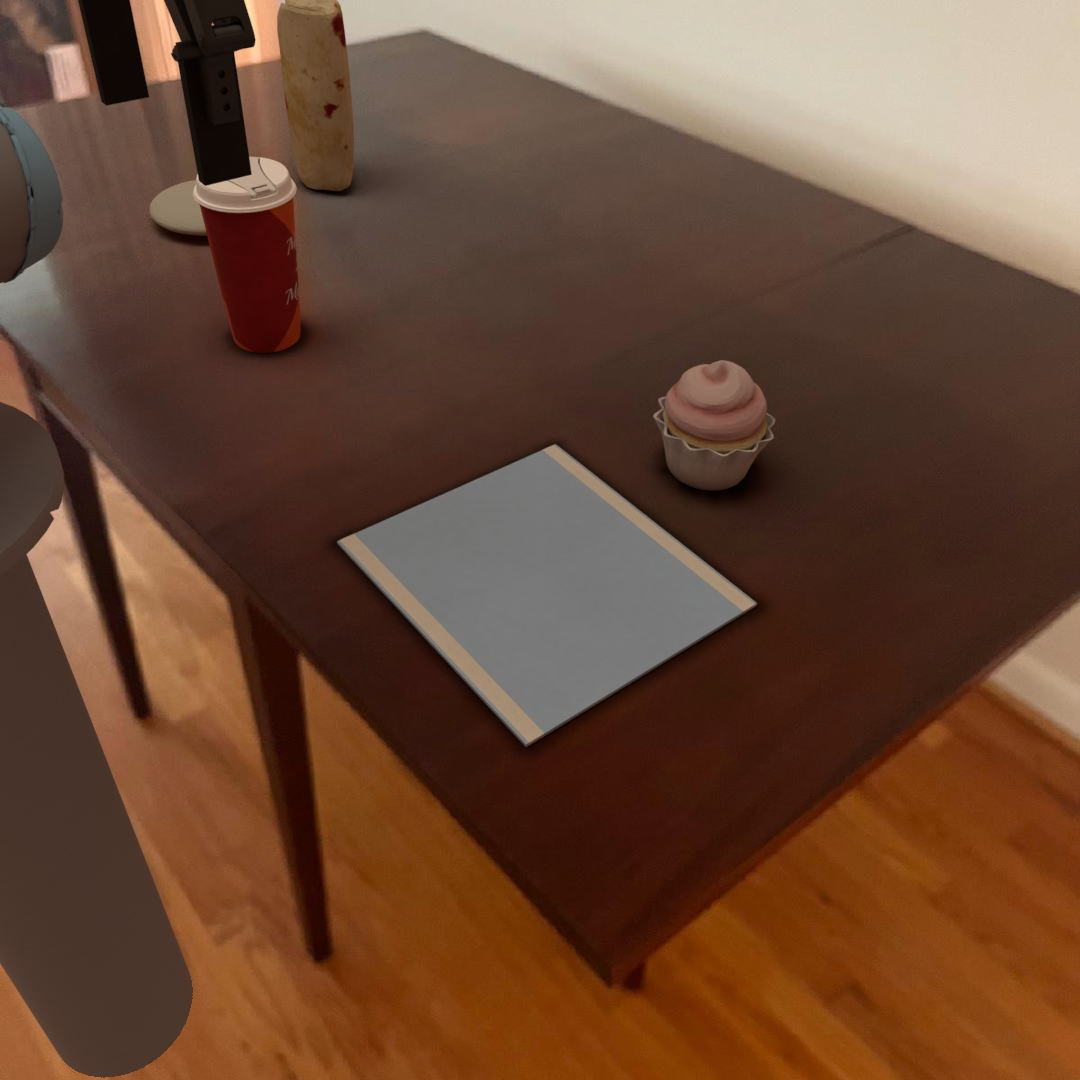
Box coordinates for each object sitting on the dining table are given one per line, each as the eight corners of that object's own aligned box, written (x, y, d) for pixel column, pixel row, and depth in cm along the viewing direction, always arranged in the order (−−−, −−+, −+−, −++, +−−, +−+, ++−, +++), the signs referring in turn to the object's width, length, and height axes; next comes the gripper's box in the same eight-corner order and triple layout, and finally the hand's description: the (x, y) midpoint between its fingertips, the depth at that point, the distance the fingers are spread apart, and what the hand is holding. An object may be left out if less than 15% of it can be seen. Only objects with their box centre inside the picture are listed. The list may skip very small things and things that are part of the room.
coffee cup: (330, 341, 94) (313, 179, 84) (246, 370, 90) (218, 204, 80) (284, 302, 99) (263, 145, 89) (203, 328, 95) (171, 166, 85)
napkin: (337, 544, 75) (336, 540, 74) (555, 446, 84) (555, 443, 84) (526, 747, 62) (526, 744, 62) (756, 606, 72) (757, 602, 72)
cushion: (136, 242, 107) (129, 214, 105) (172, 192, 116) (167, 165, 114) (253, 249, 107) (249, 221, 105) (281, 198, 116) (277, 172, 114)
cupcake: (623, 452, 84) (636, 344, 77) (715, 421, 88) (735, 315, 81) (693, 520, 78) (713, 410, 72) (788, 483, 82) (816, 375, 75)
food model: (372, 191, 118) (359, -2, 105) (316, 203, 115) (296, 6, 102) (336, 160, 124) (319, -27, 110) (282, 170, 121) (259, -20, 108)
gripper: (295, -321, 41) (340, 199, 55) (63, -362, 55) (146, 62, 69) (106, -323, 37) (206, 235, 52) (-91, -366, 51) (31, 82, 66)
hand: (172, 137), depth 60 cm, fingers open, 13 cm apart
